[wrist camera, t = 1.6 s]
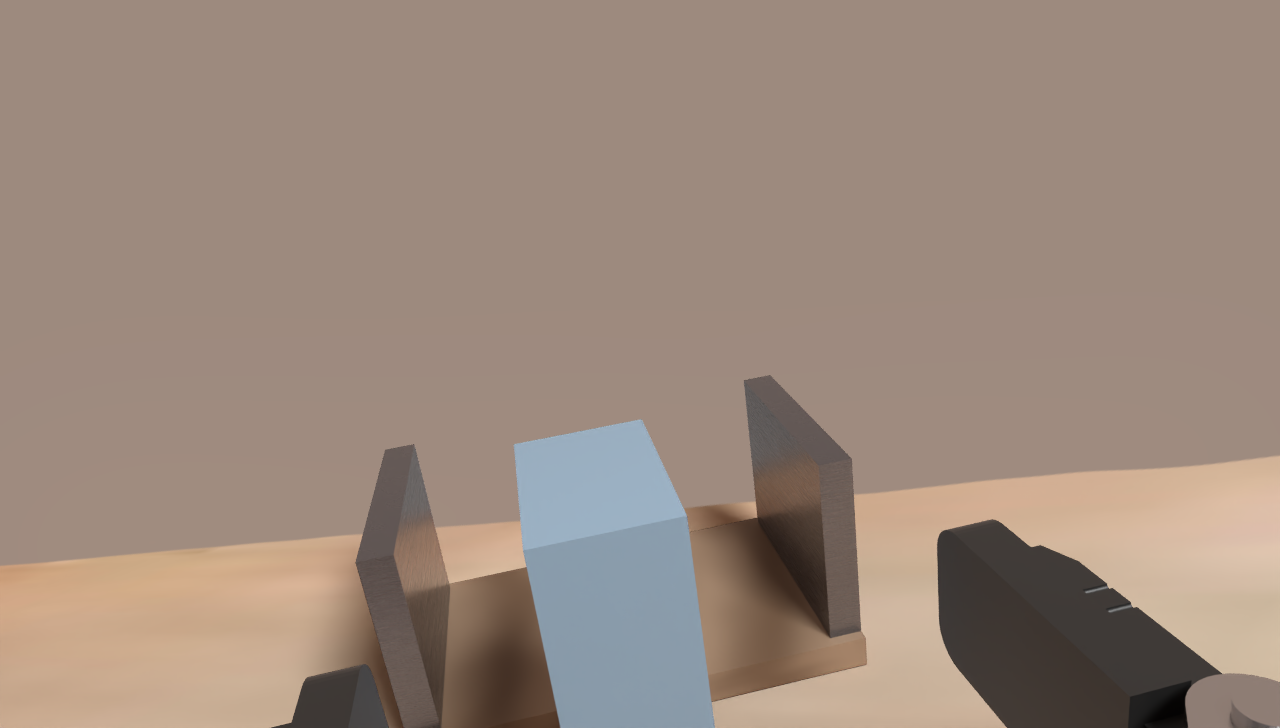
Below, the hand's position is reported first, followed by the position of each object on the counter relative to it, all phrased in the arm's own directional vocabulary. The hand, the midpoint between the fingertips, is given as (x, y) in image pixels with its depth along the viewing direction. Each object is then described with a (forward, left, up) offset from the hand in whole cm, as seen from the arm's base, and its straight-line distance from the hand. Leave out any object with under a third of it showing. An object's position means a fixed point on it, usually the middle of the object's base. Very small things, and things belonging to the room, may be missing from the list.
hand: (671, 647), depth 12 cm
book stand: (+1, +27, -20) cm, 34 cm away
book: (0, +14, -20) cm, 24 cm away
